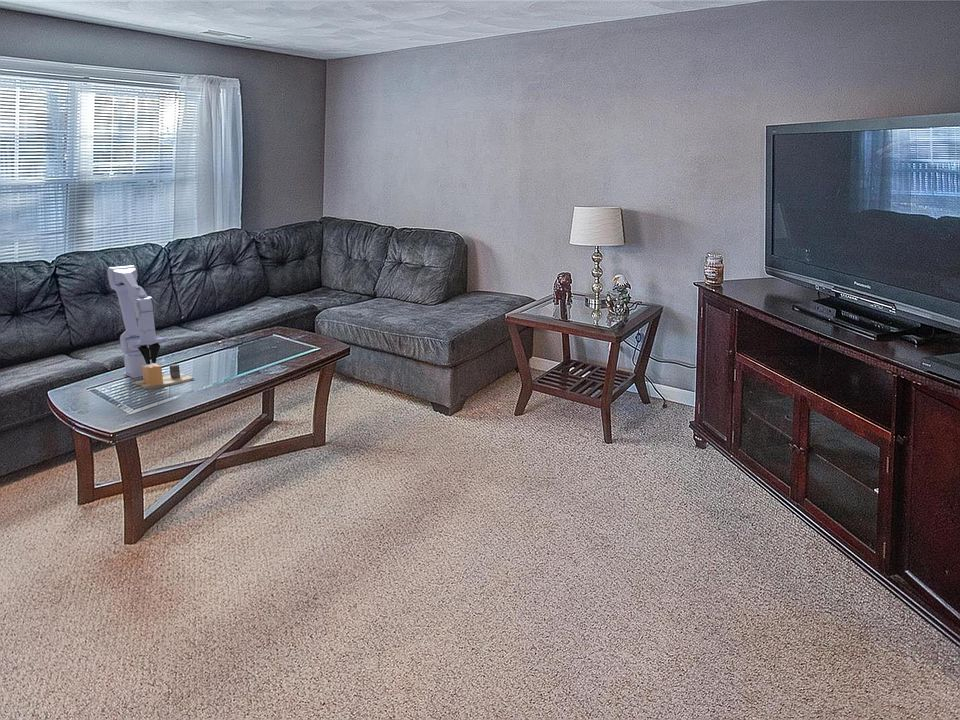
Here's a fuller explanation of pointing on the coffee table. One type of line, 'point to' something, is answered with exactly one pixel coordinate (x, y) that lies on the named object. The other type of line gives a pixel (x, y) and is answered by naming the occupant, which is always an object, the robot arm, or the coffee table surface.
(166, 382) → the post board
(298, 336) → the coffee table surface
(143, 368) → the orange rectangular block
